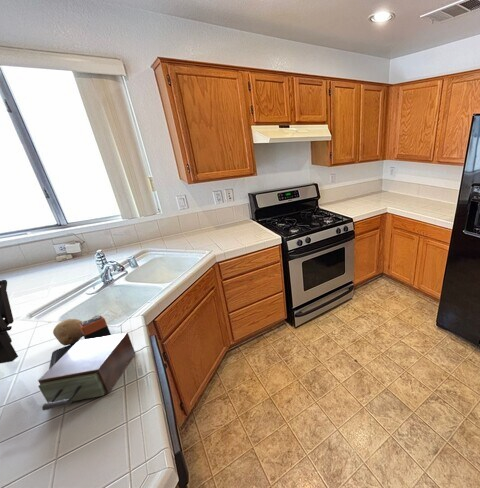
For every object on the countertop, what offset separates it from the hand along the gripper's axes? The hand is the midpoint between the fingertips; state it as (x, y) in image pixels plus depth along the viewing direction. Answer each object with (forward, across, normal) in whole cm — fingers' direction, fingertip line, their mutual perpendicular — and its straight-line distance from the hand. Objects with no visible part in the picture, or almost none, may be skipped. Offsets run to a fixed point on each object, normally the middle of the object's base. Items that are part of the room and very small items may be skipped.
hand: (8, 360), depth 57 cm
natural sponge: (+24, +41, +19) cm, 51 cm away
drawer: (+23, +14, 0) cm, 27 cm away
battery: (+24, +39, +10) cm, 47 cm away
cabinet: (+24, +19, 0) cm, 31 cm away
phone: (+24, +31, +16) cm, 42 cm away
